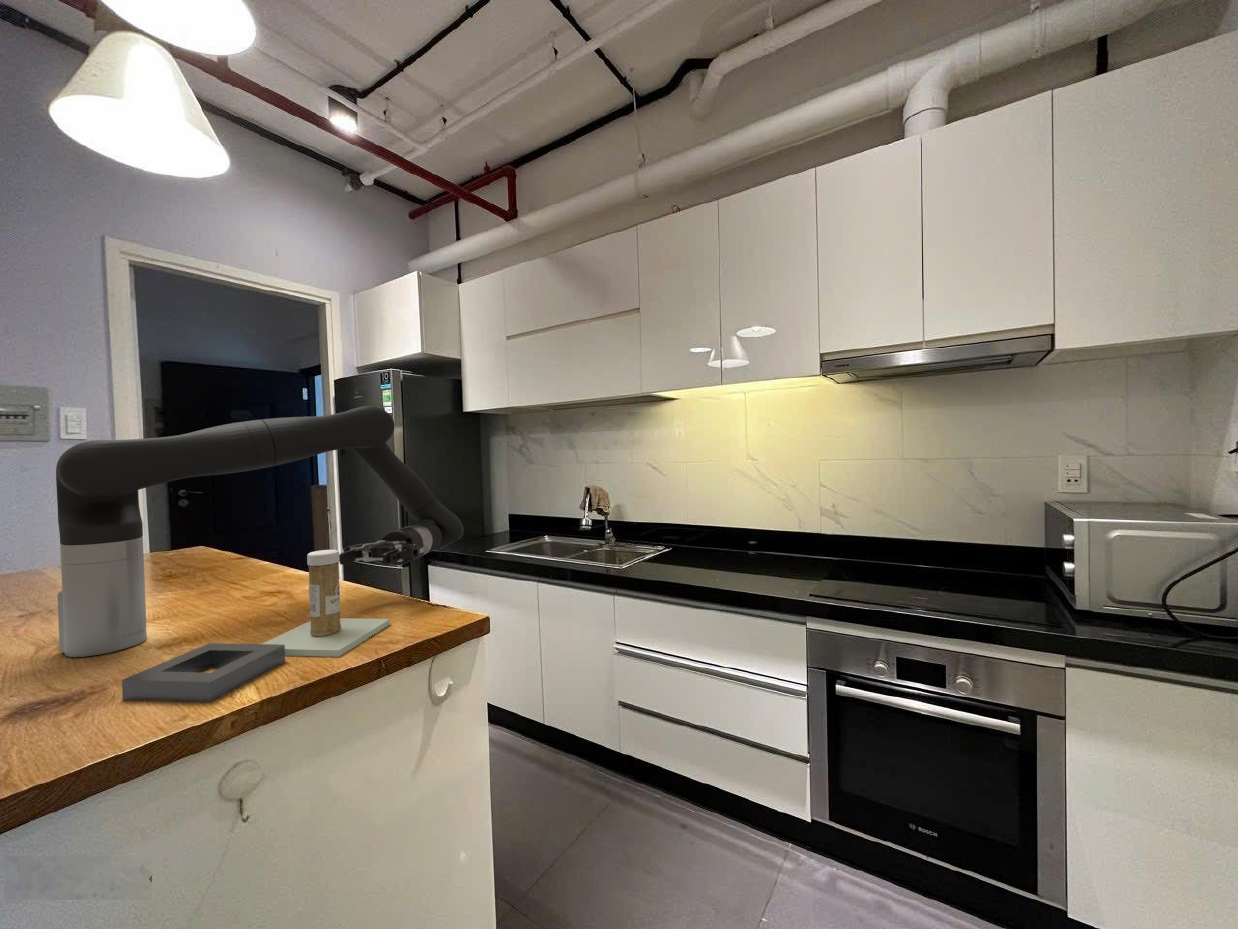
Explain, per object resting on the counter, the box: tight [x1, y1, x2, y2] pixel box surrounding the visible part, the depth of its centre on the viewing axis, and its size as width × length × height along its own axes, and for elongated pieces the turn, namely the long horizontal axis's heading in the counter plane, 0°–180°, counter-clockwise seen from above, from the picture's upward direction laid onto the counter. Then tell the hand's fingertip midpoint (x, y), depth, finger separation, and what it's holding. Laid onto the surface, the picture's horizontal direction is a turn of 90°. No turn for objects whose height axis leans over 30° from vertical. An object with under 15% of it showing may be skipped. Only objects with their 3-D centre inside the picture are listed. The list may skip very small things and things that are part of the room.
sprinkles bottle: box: [306, 549, 341, 636], centre depth 82 cm, size 5×5×13 cm
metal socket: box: [121, 642, 286, 703], centre depth 67 cm, size 12×12×2 cm
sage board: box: [262, 617, 391, 658], centre depth 82 cm, size 14×14×1 cm
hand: (362, 559), depth 92 cm, fingers open, 8 cm apart
